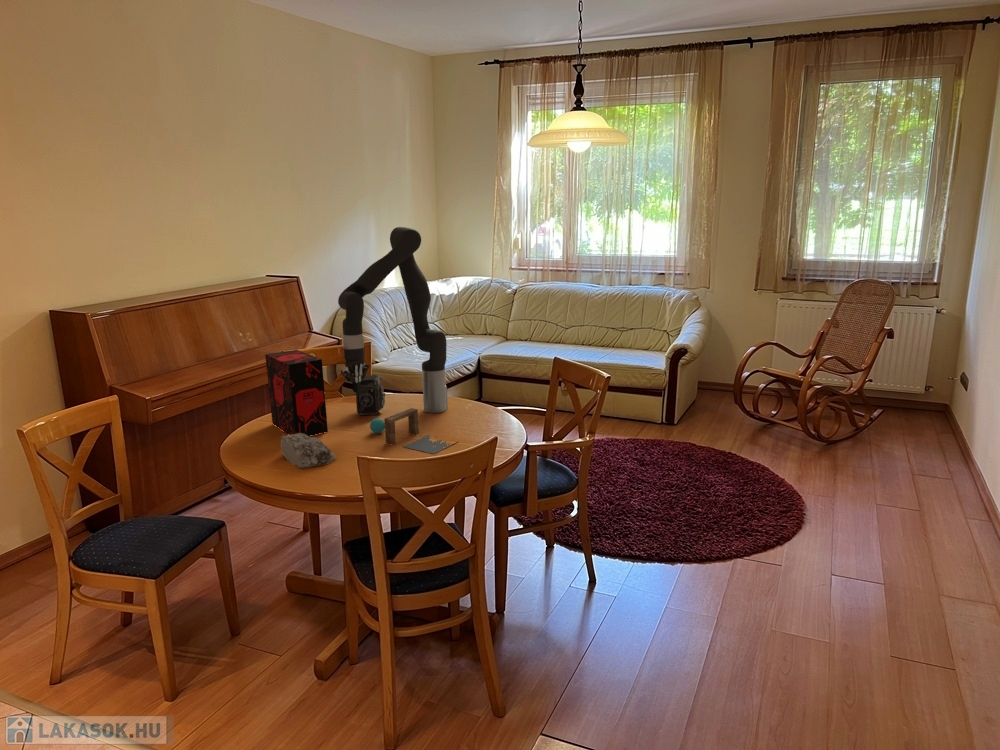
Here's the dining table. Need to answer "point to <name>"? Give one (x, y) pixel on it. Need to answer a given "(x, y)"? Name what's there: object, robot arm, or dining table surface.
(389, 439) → the bridge
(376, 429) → the ball
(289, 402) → the box
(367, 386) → the camera
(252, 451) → the dining table surface
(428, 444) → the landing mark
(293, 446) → the decorative stone
